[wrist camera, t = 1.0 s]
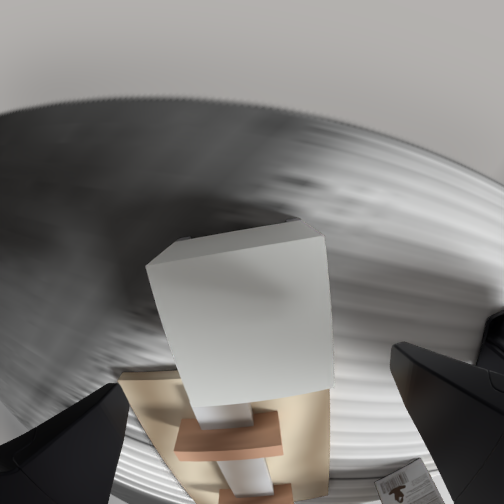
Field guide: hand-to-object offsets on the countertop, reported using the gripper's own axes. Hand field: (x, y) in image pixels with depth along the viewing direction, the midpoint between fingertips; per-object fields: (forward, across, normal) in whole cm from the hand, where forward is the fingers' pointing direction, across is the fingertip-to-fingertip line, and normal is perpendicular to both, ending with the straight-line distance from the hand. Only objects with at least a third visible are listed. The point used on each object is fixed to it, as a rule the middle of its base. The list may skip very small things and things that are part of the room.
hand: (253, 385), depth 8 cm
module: (+8, 0, 0) cm, 8 cm away
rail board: (+8, +3, +15) cm, 17 cm away
